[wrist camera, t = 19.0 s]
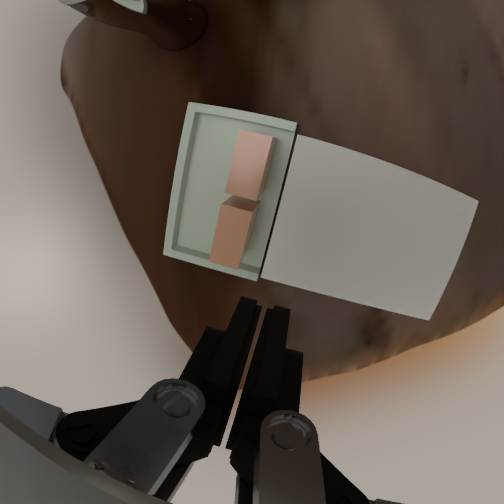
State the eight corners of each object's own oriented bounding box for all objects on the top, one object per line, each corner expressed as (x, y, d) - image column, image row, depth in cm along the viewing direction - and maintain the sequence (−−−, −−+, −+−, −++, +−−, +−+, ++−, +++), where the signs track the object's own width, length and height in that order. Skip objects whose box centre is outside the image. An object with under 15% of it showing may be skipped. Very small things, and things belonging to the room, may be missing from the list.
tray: (297, 124, 25) (296, 122, 23) (259, 272, 31) (256, 281, 29) (196, 104, 26) (188, 102, 24) (170, 247, 31) (163, 254, 29)
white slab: (464, 195, 24) (478, 201, 22) (420, 306, 29) (428, 320, 26) (297, 135, 25) (297, 134, 23) (264, 264, 30) (260, 277, 28)
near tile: (272, 136, 21) (239, 129, 21) (256, 201, 23) (224, 192, 23) (277, 138, 25) (250, 131, 25) (264, 191, 27) (237, 184, 27)
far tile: (252, 212, 23) (221, 203, 23) (237, 270, 25) (208, 261, 25) (260, 200, 28) (234, 193, 28) (248, 249, 29) (223, 242, 30)
